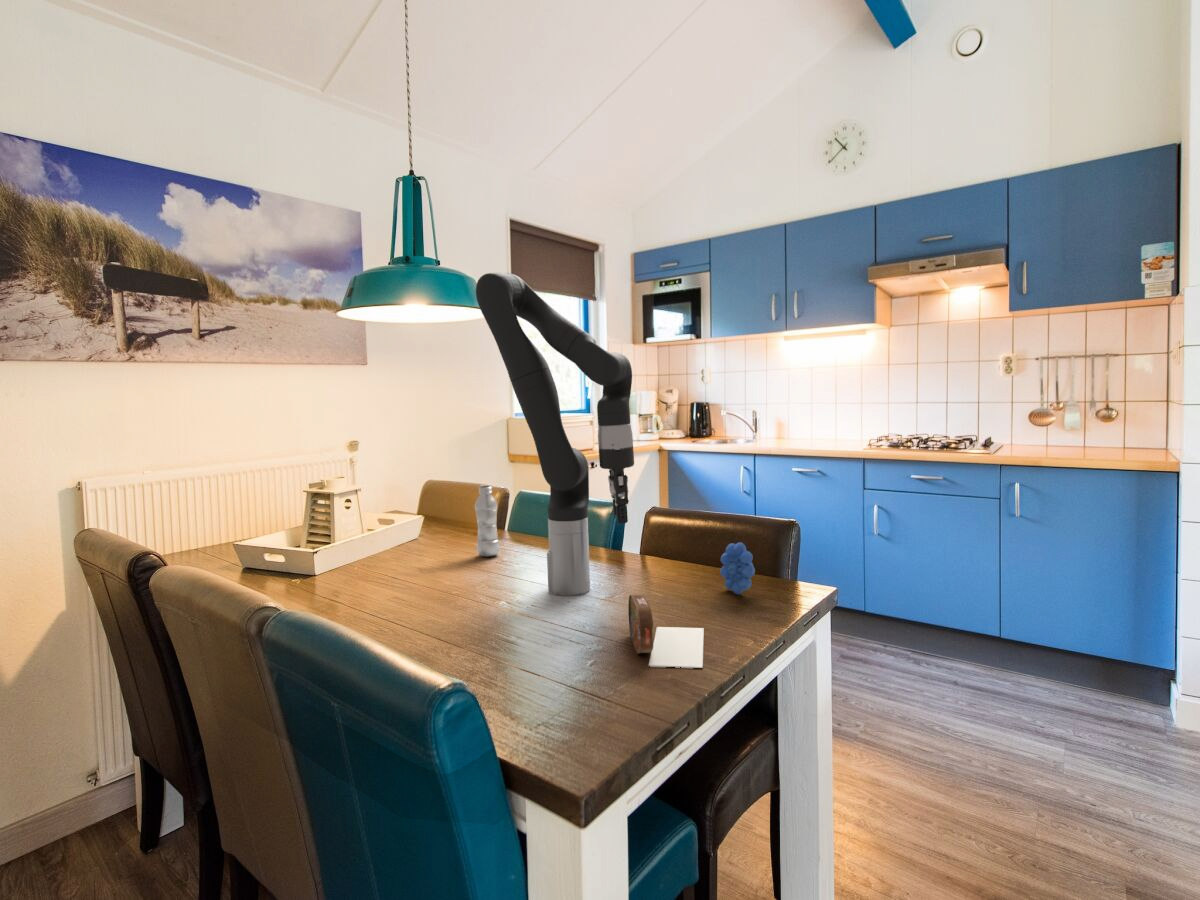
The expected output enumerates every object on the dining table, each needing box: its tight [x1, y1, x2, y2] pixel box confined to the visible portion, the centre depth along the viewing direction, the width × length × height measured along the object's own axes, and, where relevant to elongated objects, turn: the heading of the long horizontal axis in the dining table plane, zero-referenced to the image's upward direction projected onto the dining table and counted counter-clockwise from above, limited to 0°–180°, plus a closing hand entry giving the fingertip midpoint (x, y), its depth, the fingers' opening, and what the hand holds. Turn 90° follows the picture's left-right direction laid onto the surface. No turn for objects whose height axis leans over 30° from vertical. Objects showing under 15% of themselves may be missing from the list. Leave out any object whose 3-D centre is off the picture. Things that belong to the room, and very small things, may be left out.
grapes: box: [719, 542, 756, 595], centre depth 151 cm, size 12×7×12 cm, turn 23°
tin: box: [627, 594, 654, 655], centre depth 123 cm, size 15×3×8 cm, turn 5°
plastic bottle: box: [474, 485, 501, 557], centre depth 191 cm, size 6×7×20 cm
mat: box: [648, 626, 705, 669], centre depth 122 cm, size 9×18×1 cm, turn 171°
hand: (620, 518), depth 148 cm, fingers open, 8 cm apart
